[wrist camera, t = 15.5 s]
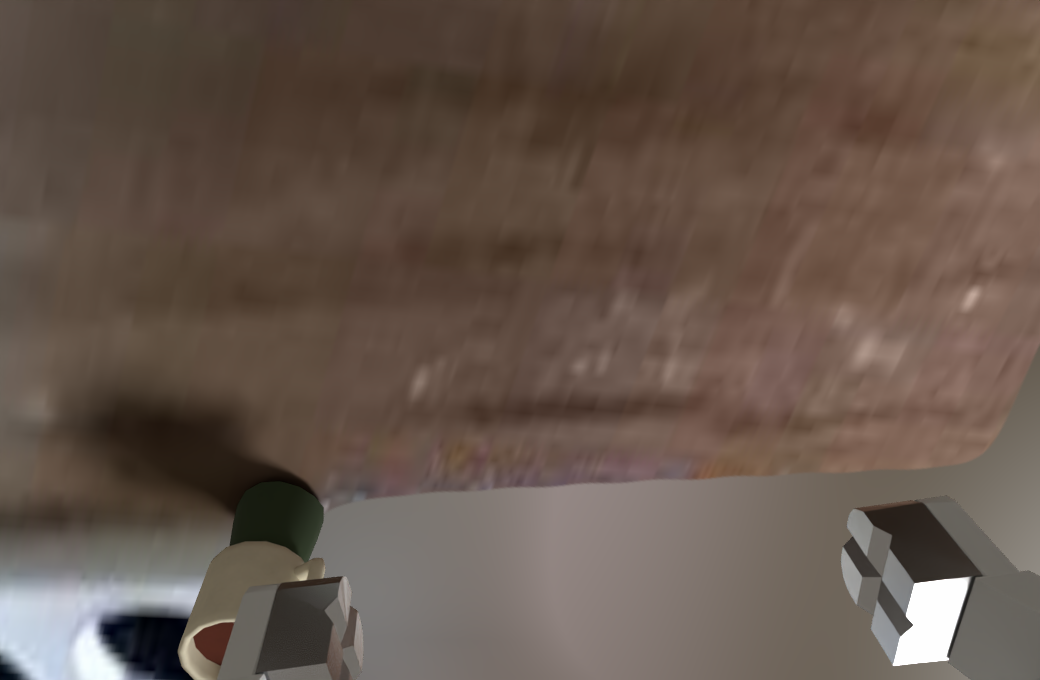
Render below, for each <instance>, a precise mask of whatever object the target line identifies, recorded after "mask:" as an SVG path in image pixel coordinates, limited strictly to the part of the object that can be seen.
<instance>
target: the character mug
mask: <svg viewBox="0 0 1040 680" xmlns="http://www.w3.org/2000/svg"><path fill="white" fill-rule="evenodd" d="M323 512H324V508H323V506H322V505H321V504H320V503H319V501H318V500H317V499H316V498H315V496H313V495H311V494H310V493H308V492H307V491H305V490H304V489H302V488H300V487H298V486H295V485H291V484H288V483H284V482H281V481H277V482H262V483H259V484H257V485H256V486H254V487H252V488H250V489H248V490H247V491H245V493H244V495H243V496H242V498H241V500H240V501H239V503H238V505H237V509H236V513H235V518H234V522H233V528H232V534H231V540H230V546H229V547H226V548H225V549H224V550H223V551H221V552H220V553H219V554H218V555H217V556H216V557H215V558H214V559H213V560H212V562H211V563H210V565H209V568H208V570H207V573H206V576H205V578H204V581H203V584H202V586H201V589H200V592H199V594H198V597H197V599H196V602H195V605H194V607H193V610H192V613H191V615H190V618H189V621H188V623H187V626H186V629H185V631H184V634H183V637H182V639H181V642H180V645H179V649H178V654H179V658H180V662H181V665H182V667H183V668H184V669H185V670H186V671H187V673H188V674H189V675H190V676H191V677H192V678H193V679H194V680H217V677H218V674H219V671H220V668H221V664H222V661H223V658H224V655H225V652H226V648H227V645H228V642H229V639H230V636H231V632H232V629H233V626H234V623H235V619H236V616H237V613H238V610H239V607H240V603H241V600H242V597H243V595H244V594H245V592H246V591H247V590H248V588H249V587H252V586H261V585H270V584H280V583H284V582H293V581H303V580H312V579H322V578H324V573H325V564H324V560H323V559H322V558H314V559H311V560H309V558H310V556H311V553H312V551H313V548H314V546H315V544H316V541H317V539H318V536H319V533H320V530H321V527H322V524H323ZM308 560H309V561H308Z"/></svg>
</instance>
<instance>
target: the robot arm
mask: <svg viewBox="0 0 1040 680" xmlns="http://www.w3.org/2000/svg"><path fill="white" fill-rule="evenodd" d="M847 528H848V529H849V531H850V532H851V534H852V535H853V537H852V538H851V539H850V540H849V541H848V542H847V543H846V544H845V545H844V546H843V549H842V557H841V566H842V572H843V577H844V581H845V583H846V586H847V588H848V591H849V593H850V595H851V596H852V598H853V600H854V602H855V603H856V605H857V606H859V607H860V608H862V609H863V610H865V611H867V612H868V613H870V614H871V615H873V620H872V626H871V630H872V631H873V633H874V635H875V636H876V638H877V640H878V641H879V643H880V645H881V646H882V648H883V650H884V651H885V653H886V654H887V656H888V658H889V659H890V661H891V663H892V664H893V665H894V666H895V665H904V664H913V663H922V662H931V661H940V660H949V661H948V663H949V664H951V665H952V666H953V667H955V668H956V669H957V670H959V671H960V672H961V673H963V674H964V675H965V676H967V677H968V678H969V679H971V680H1040V576H1039V575H1036V574H1035V573H1033V572H1031V571H1021V572H1019V571H1018V570H1017V568H1016V567H1015V566H1014V565H1013V564H1012V563H1011V562H1010V561H1009V560H1008V558H1007V557H1006V556H1005V555H1004V554H1003V553H1002V552H1001V551H1000V549H999V548H998V547H996V545H995V544H994V543H993V542H992V541H991V539H989V537H988V536H987V535H986V534H985V533H984V532H983V531H982V529H981V528H980V527H979V526H978V525H977V524H976V523H975V522H974V521H973V519H972V518H971V517H970V516H969V515H968V514H967V513H966V512H965V511H964V509H963V508H962V507H961V506H960V505H959V504H958V503H957V502H956V501H955V500H954V499H952V498H950V497H949V496H940V497H933V498H925V499H919V500H915V501H912V500H910V501H903V502H896V503H889V504H882V505H875V506H868V507H861V508H854V509H853V510H852V512H851V513H850V514H849V518H848V522H847ZM351 595H352V590H351V587H350V585H349V582H348V579H347V577H344V576H342V577H331V578H322V579H312V580H303V581H293V582H284V583H280V584H270V585H261V586H252V587H249V588H248V590H247V591H246V592H245V594H244V595H243V597H242V600H241V603H240V607H239V610H238V613H237V616H236V619H235V623H234V626H233V629H232V632H231V636H230V639H229V642H228V645H227V648H226V652H225V655H224V658H223V661H222V664H221V668H220V671H219V674H218V677H217V680H356V679H357V677H358V676H359V675H360V673H361V672H362V664H363V632H362V625H361V620H360V617H359V613H358V611H357V610H356V609H354V608H353V607H351V606H350V603H351Z"/></svg>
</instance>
